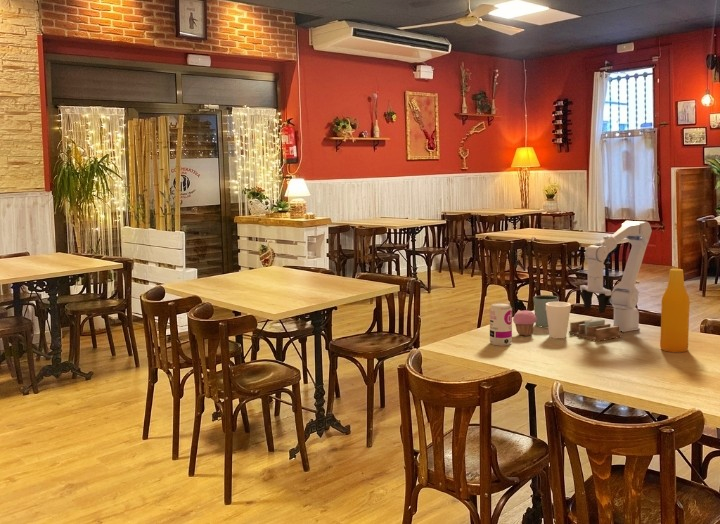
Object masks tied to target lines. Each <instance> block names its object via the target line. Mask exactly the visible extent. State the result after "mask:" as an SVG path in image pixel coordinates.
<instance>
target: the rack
mask: <svg viewBox="0 0 720 524" xmlns="http://www.w3.org/2000/svg"><path fill="white" fill-rule="evenodd" d="M590 320H593V319H586V320H578V321H572V322H571V321H570V322H569V323H570V324H569V325H570V326H569V327H570V329H569V331H568V334H569V333H571V334H570V335H572V334H574V335H573V336H575V335H577V336H576V337H579V336H580V337H579V338H582V337H584V338H583V339H586V338H587V340H589V339H591V340H590V341H593V340H595V341H594V342H596V341H598V342H600V341H599V340H604V339H610V340H612V339H611V338H616V337H620V338H621V334H620V331H619V326H611V323H605V324H603V325H596V326H590V327H587V334H585V321H590ZM616 339H617V338H616ZM604 341H605V340H604Z"/></svg>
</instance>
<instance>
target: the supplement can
mask: <svg viewBox="0 0 720 524" xmlns="http://www.w3.org/2000/svg"><path fill="white" fill-rule="evenodd" d="M489 342H490V343H491V345H493V346H499V347H503V346H504V347H505V346H509V345H511V344H512V343H513V307H512V306H511V304H510V303H506V302H496V303H492V304H490V307H489Z"/></svg>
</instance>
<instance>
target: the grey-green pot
mask: <svg viewBox="0 0 720 524" xmlns="http://www.w3.org/2000/svg"><path fill="white" fill-rule="evenodd" d="M532 298H533V299H532V300H533V306H534V307H533V309H534V310H533V311H534V314H535V316H536V322H535V323H534V324H535V326H536V325H537V326H536V327H538V326H542V327H541V328H544V327H548V321H547V312H546V303H548V302H559V297H558V296H556V295H553V294H552V295H550V294H549V295H548V294H547V295H546V294H541V295H535V296H533V297H532Z"/></svg>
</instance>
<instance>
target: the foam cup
mask: <svg viewBox="0 0 720 524" xmlns="http://www.w3.org/2000/svg"><path fill="white" fill-rule="evenodd" d="M571 305H572V304H571V303H569V302H565V301H558V302H548V303H546V312H547V321H548V335H549V338H551V337H553V338H552V339H555V338H563V339H566V338H567V333H568V329H569V328H568V327H569V320H570V314H571V308H572V307H571ZM565 337H566V338H565Z"/></svg>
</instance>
